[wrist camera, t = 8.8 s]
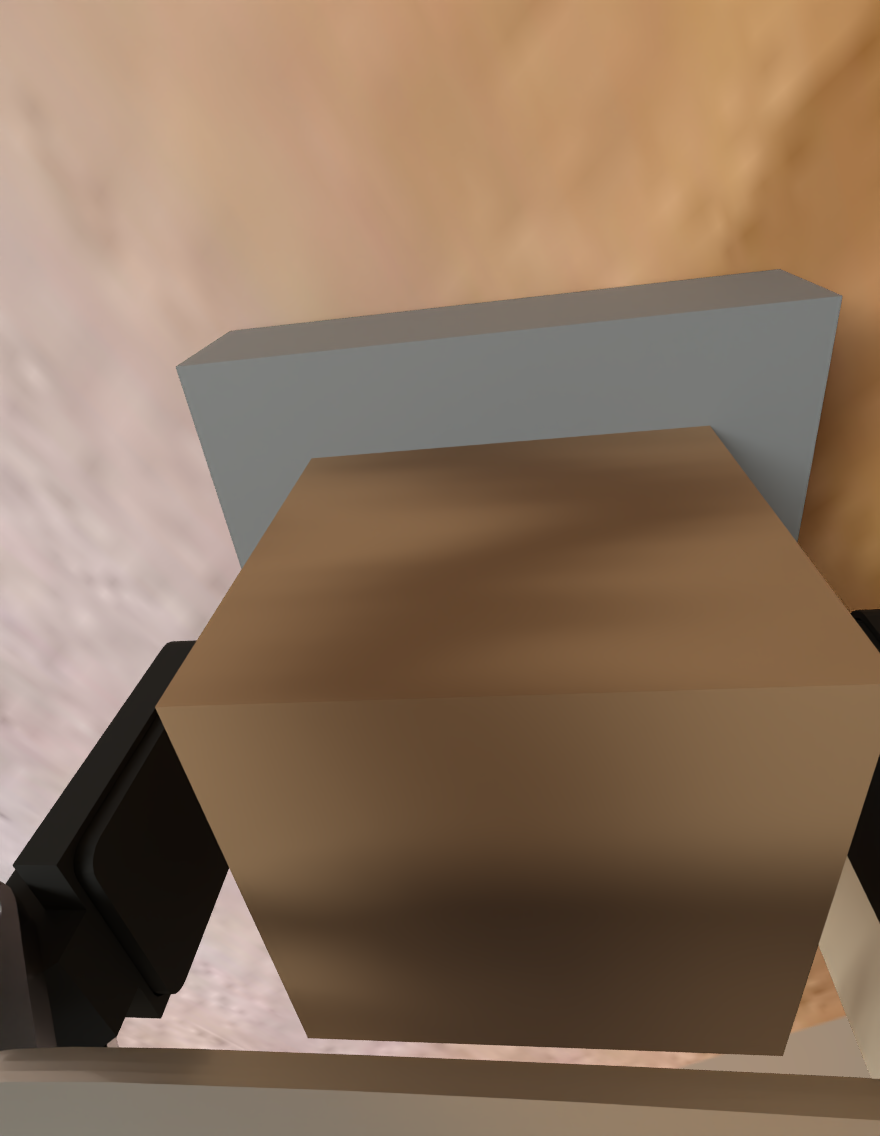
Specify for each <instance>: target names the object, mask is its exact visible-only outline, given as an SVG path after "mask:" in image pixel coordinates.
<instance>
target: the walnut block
mask: <svg viewBox="0 0 880 1136" xmlns="http://www.w3.org/2000/svg"><path fill="white" fill-rule="evenodd" d="M155 708H156V710H157V712H158V715H159V717H160V719H161V721H162V723H163V725H164V728H165V730H166V732H167V734H168V736H169V738H170V741H171V743H172V745H173V747H174V749H175V751H176V754H177V756H178V758H179V760H180V762H181V764H182V767H183V769H184V771H185V773H186V775H187V777H188V779H189V782H190V784H191V786H192V788H193V790H194V792H195V795H196V797H197V799H198V801H199V803H200V805H201V808H202V810H203V812H204V814H205V816H206V818H207V821H208V823H209V825H210V827H211V829H212V831H213V834H214V836H215V838H216V840H217V842H218V844H219V846H220V849H221V851H222V853H223V855H224V857H225V859H226V862H227V864H228V866H229V868H230V870H231V872H232V875H233V877H234V879H235V881H236V883H237V885H238V888H239V890H240V892H241V894H242V896H243V898H244V901H245V903H246V905H247V907H248V909H249V911H250V913H251V916H252V918H253V920H254V922H255V924H256V926H257V929H258V931H259V933H260V935H261V937H262V939H263V942H264V944H265V946H266V948H267V950H268V952H269V955H270V957H271V959H272V961H273V963H274V965H275V968H276V970H277V972H278V974H279V976H280V978H281V980H282V983H283V985H284V987H285V989H286V991H287V993H288V996H289V998H290V1000H291V1002H292V1004H293V1006H294V1009H295V1011H296V1013H297V1015H298V1017H299V1019H300V1022H301V1024H302V1026H303V1028H304V1030H305V1032H306V1035H307V1037H308V1038H320V1039H347V1040H373V1041H400V1042H427V1043H453V1044H480V1045H506V1046H533V1047H559V1048H586V1049H612V1050H639V1051H665V1052H692V1053H718V1054H745V1055H771V1056H773V1055H774V1056H783V1054H784V1050H785V1047H786V1044H787V1041H788V1038H789V1035H790V1032H791V1029H792V1025H793V1022H794V1019H795V1016H796V1013H797V1010H798V1007H799V1004H800V1001H801V997H802V994H803V991H804V988H805V985H806V982H807V979H808V976H809V973H810V969H811V966H812V963H813V960H814V957H815V954H816V951H817V948H818V945H819V941H820V938H821V935H822V932H823V929H824V926H825V923H826V920H827V917H828V913H829V910H830V907H831V904H832V901H833V898H834V895H835V892H836V889H837V885H838V882H839V879H840V876H841V873H842V870H843V867H844V864H845V860H846V857H847V854H848V851H849V848H850V845H851V842H852V839H853V836H854V832H855V829H856V826H857V823H858V820H859V817H860V814H861V811H862V808H863V804H864V801H865V798H866V795H867V792H868V789H869V786H870V783H871V780H872V776H873V773H874V770H875V767H876V764H877V761H878V758H879V755H880V653H879V651H878V650H877V649H876V647H875V646H874V645H873V643H872V642H871V641H870V639H869V638H868V637H867V635H866V634H865V633H864V631H863V630H862V629H861V627H860V626H859V625H858V623H857V622H856V621H855V619H854V618H853V617H852V615H851V614H850V613H849V611H848V610H847V609H846V607H845V606H844V605H843V603H842V602H841V601H840V599H839V598H838V597H837V595H836V594H835V593H834V591H833V590H832V589H831V587H830V586H829V584H828V583H827V582H826V580H825V579H824V578H823V576H822V575H821V574H820V572H819V571H818V570H817V568H816V567H815V566H814V564H813V563H812V562H811V560H810V559H809V558H808V556H807V555H806V554H805V552H804V551H803V550H802V548H801V547H800V546H799V544H798V543H797V542H796V540H795V539H794V538H793V536H792V535H791V534H790V532H789V531H788V530H787V528H786V527H785V526H784V524H783V523H782V522H781V520H780V519H779V518H778V516H777V515H776V514H775V512H774V511H773V510H772V508H771V507H770V506H769V504H768V503H767V502H766V500H765V499H764V498H763V496H762V495H761V494H760V492H759V491H758V490H757V488H756V487H755V486H754V484H753V483H752V482H751V480H750V479H749V477H748V476H747V475H746V473H745V472H744V471H743V469H742V468H741V467H740V465H739V464H738V463H737V461H736V460H735V459H734V457H733V456H732V455H731V453H730V452H729V451H728V449H727V448H726V447H725V445H724V444H723V443H722V441H721V440H720V439H719V437H718V436H717V435H716V433H715V432H714V431H713V429H712V428H711V427H710V426H699V427H687V428H674V429H662V430H650V431H638V432H626V433H614V434H601V435H589V436H577V437H565V438H553V439H541V440H528V441H516V442H504V443H492V444H480V445H468V446H455V447H443V448H431V449H419V450H407V451H395V452H382V453H370V454H358V455H346V456H334V457H322V458H311V460H310V462H309V463H308V465H307V466H306V468H305V470H304V471H303V473H302V474H301V476H300V478H299V479H298V481H297V482H296V484H295V485H294V487H293V489H292V490H291V492H290V493H289V495H288V497H287V498H286V500H285V501H284V503H283V505H282V506H281V508H280V509H279V511H278V512H277V514H276V516H275V517H274V519H273V520H272V522H271V524H270V525H269V527H268V528H267V530H266V532H265V533H264V535H263V536H262V538H261V539H260V541H259V543H258V544H257V546H256V547H255V549H254V551H253V552H252V554H251V555H250V557H249V559H248V560H247V562H246V563H245V565H244V566H243V568H242V570H241V571H240V573H239V574H238V576H237V578H236V579H235V581H234V582H233V584H232V586H231V587H230V589H229V590H228V592H227V593H226V595H225V597H224V598H223V600H222V601H221V603H220V605H219V606H218V608H217V609H216V611H215V613H214V614H213V616H212V617H211V619H210V621H209V622H208V624H207V625H206V627H205V628H204V630H203V632H202V633H201V635H200V636H199V638H198V640H197V641H196V643H195V644H194V646H193V648H192V649H191V651H190V652H189V654H188V655H187V657H186V659H185V660H184V662H183V663H182V665H181V667H180V668H179V670H178V671H177V673H176V675H175V676H174V678H173V679H172V681H171V682H170V684H169V686H168V687H167V689H166V690H165V692H164V694H163V695H162V697H161V698H160V700H159V702H158V703H157V705H156V706H155Z"/></svg>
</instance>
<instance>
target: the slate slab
mask: <svg viewBox="0 0 880 1136" xmlns="http://www.w3.org/2000/svg"><path fill="white" fill-rule="evenodd" d="M841 301H842V295H839V294H837V293H835V292H832V291H830V290H828V289H825V288H823V287H821V286H818V285H816V284H814V283H811V282H809V281H807V280H804V279H802V278H800V277H797V276H795V275H793V274H790V273H788V272H786V271H783V270H781V269H777V270H768V271H760V272H751V273H742V274H733V275H724V276H715V277H706V278H697V279H688V280H680V281H671V282H662V283H653V284H644V285H635V286H626V287H617V288H609V289H600V290H591V291H582V292H573V293H564V294H555V295H546V296H538V297H529V298H520V299H511V300H502V301H493V302H484V303H475V304H467V305H458V306H449V307H440V308H431V309H422V310H413V311H404V312H396V313H387V314H378V315H369V316H360V317H351V318H342V319H333V320H324V321H316V322H307V323H298V324H289V325H280V326H271V327H262V328H253V329H245V330H236V331H229V332H228V333H226V334H225V335H223V336H222V337H220V338H219V339H217V340H216V341H214V342H213V343H211V344H210V345H208V346H207V347H205V348H204V349H202V350H200V351H199V352H197V353H196V354H194V355H193V356H191V357H190V358H188V359H187V360H185V361H184V362H182V363H181V364H179V365H178V366H176V369H177V372H178V375H179V378H180V382H181V385H182V388H183V391H184V394H185V397H186V400H187V403H188V406H189V409H190V412H191V415H192V418H193V421H194V425H195V428H196V431H197V434H198V437H199V440H200V443H201V446H202V449H203V452H204V455H205V458H206V461H207V464H208V467H209V471H210V474H211V477H212V480H213V483H214V486H215V489H216V492H217V495H218V498H219V501H220V504H221V507H222V510H223V513H224V517H225V520H226V523H227V526H228V529H229V532H230V535H231V538H232V541H233V544H234V547H235V550H236V553H237V556H238V560H239V563H240V566H241V569H242V568H243V566H244V565H245V563H246V562H247V560H248V559H249V557H250V555H251V554H252V552H253V551H254V549H255V547H256V546H257V544H258V543H259V541H260V539H261V538H262V536H263V535H264V533H265V532H266V530H267V528H268V527H269V525H270V524H271V522H272V520H273V519H274V517H275V516H276V514H277V512H278V511H279V509H280V508H281V506H282V505H283V503H284V501H285V500H286V498H287V497H288V495H289V493H290V492H291V490H292V489H293V487H294V485H295V484H296V482H297V481H298V479H299V478H300V476H301V474H302V473H303V471H304V470H305V468H306V466H307V465H308V463H309V462H310V460H311V458H322V457H334V456H346V455H358V454H370V453H382V452H395V451H407V450H419V449H431V448H443V447H455V446H468V445H480V444H492V443H504V442H516V441H528V440H541V439H553V438H565V437H577V436H589V435H601V434H614V433H626V432H638V431H650V430H662V429H674V428H687V427H699V426H710V427H711V428H712V429H713V431H714V432H715V433H716V435H717V436H718V437H719V439H720V440H721V441H722V443H723V444H724V445H725V447H726V448H727V449H728V451H729V452H730V453H731V455H732V456H733V457H734V459H735V460H736V461H737V463H738V464H739V465H740V467H741V468H742V469H743V471H744V472H745V473H746V475H747V476H748V477H749V479H750V480H751V482H752V483H753V484H754V486H755V487H756V488H757V490H758V491H759V492H760V494H761V495H762V496H763V498H764V499H765V500H766V502H767V503H768V504H769V506H770V507H771V508H772V510H773V511H774V512H775V514H776V515H777V516H778V518H779V519H780V520H781V522H782V523H783V524H784V526H785V527H786V528H787V530H788V531H789V532H790V534H791V535H792V536H793V538H794V539H795V540H796V542H797V541H798V536H799V530H800V525H801V520H802V514H803V509H804V503H805V498H806V492H807V487H808V481H809V476H810V470H811V465H812V459H813V454H814V449H815V443H816V438H817V432H818V427H819V421H820V416H821V410H822V405H823V399H824V394H825V388H826V383H827V378H828V372H829V367H830V361H831V356H832V350H833V345H834V339H835V334H836V328H837V323H838V317H839V312H840V307H841Z"/></svg>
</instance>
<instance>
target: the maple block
mask: <svg viewBox="0 0 880 1136" xmlns="http://www.w3.org/2000/svg"><path fill="white" fill-rule="evenodd" d="M819 947H820V950H821V952H822V955H823V957H824V960H825V962H826V965H827V968H828V970H829V973H830V975H831V978H832V980H833V983H834V985H835V988H836V990H837V993H838V995H839V998H840V1000H841V1003H842V1006H843V1008H844V1011H845V1013H846V1016H847V1018H848V1021H849V1023H850V1026H851V1028H852V1031H853V1033H854V1036H855V1038H856V1041H857V1043H858V1046H859V1048H860V1051H861V1054H862V1056H863V1058H864V1061H865V1064H866V1066H867V1069H868V1071H869V1074H870V1076H871V1078H873V1079H880V923H879V921H878V919H877V917H876V914H875V912H874V910H873V908H872V906H871V904H870V902H869V900H868V898H867V896H866V894H865V892H864V890H863V888H862V885H861V883H860V881H859V879H858V877H857V875H856V873H855V871H854V869H853V867H852V865H851V863H850V861H849V859H848V856H847V857H846V860H845V864H844V867H843V870H842V873H841V876H840V879H839V882H838V885H837V889H836V892H835V895H834V898H833V901H832V904H831V907H830V910H829V913H828V917H827V920H826V923H825V926H824V929H823V932H822V935H821V938H820V941H819Z"/></svg>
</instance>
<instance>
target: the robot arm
mask: <svg viewBox="0 0 880 1136" xmlns="http://www.w3.org/2000/svg"><path fill="white" fill-rule="evenodd" d="M851 615H852V617H853V618H854V619H855V621H856V622H857V623H858V625H859V626H860V627H861V629H862V630H863V631H864V633H865V634H866V635H867V637H868V638H869V639H870V641H871V642H872V643H873V645H874V646H875V647H876V649H877V650H878V651H879V653H880V609H874V610H856V611H853V612H852V613H851ZM196 641H197V640H196ZM196 641H174V642H169V643H167V644H166V645H165V646H164V647H163V648H162V650H161V651H160V653H159V654H158V656H157V657H156V658H155V660H154V661H153V663H152V664H151V666H150V667H149V669H148V670H147V671H146V673H145V674H144V676H143V677H142V679H141V680H140V682H139V683H138V684H137V686H136V687H135V689H134V690H133V692H132V693H131V695H130V696H129V697H128V699H127V700H126V702H125V703H124V705H123V706H122V708H121V709H120V710H119V712H118V713H117V715H116V716H115V718H114V719H113V721H112V722H111V723H110V725H109V726H108V728H107V729H106V731H105V732H104V734H103V735H102V736H101V738H100V739H99V741H98V742H97V744H96V745H95V747H94V748H93V749H92V751H91V752H90V754H89V755H88V757H87V758H86V760H85V761H84V763H83V764H82V765H81V767H80V768H79V770H78V771H77V773H76V774H75V776H74V777H73V778H72V780H71V781H70V783H69V784H68V786H67V787H66V789H65V790H64V791H63V793H62V794H61V796H60V797H59V799H58V800H57V802H56V803H55V804H54V806H53V807H52V809H51V810H50V812H49V813H48V815H47V816H46V817H45V819H44V820H43V822H42V823H41V825H40V826H39V828H38V829H37V830H36V832H35V833H34V835H33V836H32V838H31V839H30V841H29V842H28V843H27V845H26V846H25V848H24V849H23V851H22V852H21V854H20V855H19V856H18V858H17V859H16V861H15V862H14V864H13V867H14V868H15V871H14V872H13V874H12V875H11V877H10V878H9V880H8V881H7V883H6V884H4V883H3V882H1V881H0V1136H880V1079H873V1078H857V1077H836V1076H816V1075H795V1074H774V1073H753V1072H732V1071H710V1070H690V1069H670V1068H649V1067H628V1066H605V1065H582V1064H559V1063H536V1062H513V1061H490V1060H466V1059H442V1058H418V1057H394V1056H370V1055H343V1054H316V1053H290V1052H263V1051H236V1050H209V1049H177V1048H119V1046H118V1042H117V1038H116V1037H117V1035H118V1032H119V1030H120V1028H121V1026H122V1023H123V1021H124V1019H125V1017H135V1018H161V1017H162V1015H163V1012H164V1010H165V1007H166V1005H167V1002H168V1000H169V997H170V995H171V994H176V993H177V992H178V991H179V990H180V989H181V988H182V986H183V984H184V982H185V980H186V978H187V975H188V973H189V970H190V968H191V965H192V962H193V960H194V957H195V955H196V952H197V949H198V947H199V944H200V942H201V939H202V937H203V934H204V931H205V929H206V926H207V924H208V921H209V918H210V916H211V913H212V911H213V908H214V906H215V903H216V900H217V898H218V895H219V893H220V890H221V887H222V885H223V882H224V880H225V877H226V875H227V872H228V869H229V866H228V864H227V862H226V859H225V857H224V855H223V853H222V851H221V849H220V846H219V844H218V842H217V840H216V838H215V836H214V834H213V831H212V829H211V827H210V825H209V823H208V821H207V818H206V816H205V814H204V812H203V810H202V808H201V805H200V803H199V801H198V799H197V797H196V795H195V792H194V790H193V788H192V786H191V784H190V782H189V779H188V777H187V775H186V773H185V771H184V769H183V767H182V764H181V762H180V760H179V758H178V756H177V754H176V751H175V749H174V747H173V745H172V743H171V741H170V738H169V736H168V734H167V732H166V730H165V728H164V725H163V723H162V721H161V719H160V717H159V715H158V712H157V710H156V708H155V706H156V705H157V703H158V702H159V700H160V698H161V697H162V695H163V694H164V692H165V690H166V689H167V687H168V686H169V684H170V682H171V681H172V679H173V678H174V676H175V675H176V673H177V671H178V670H179V668H180V667H181V665H182V663H183V662H184V660H185V659H186V657H187V655H188V654H189V652H190V651H191V649H192V648H193V646H194V644H195V643H196ZM847 856H848V859H849V861H850V863H851V865H852V867H853V869H854V871H855V873H856V875H857V877H858V879H859V881H860V883H861V885H862V888H863V890H864V892H865V894H866V896H867V898H868V900H869V902H870V904H871V906H872V908H873V910H874V912H875V914H876V917H877V919H878V921H879V923H880V755H879V758H878V761H877V764H876V767H875V770H874V773H873V776H872V780H871V783H870V786H869V789H868V792H867V795H866V798H865V801H864V804H863V808H862V811H861V814H860V817H859V820H858V823H857V826H856V829H855V832H854V836H853V839H852V842H851V845H850V848H849V851H848V854H847Z"/></svg>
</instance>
